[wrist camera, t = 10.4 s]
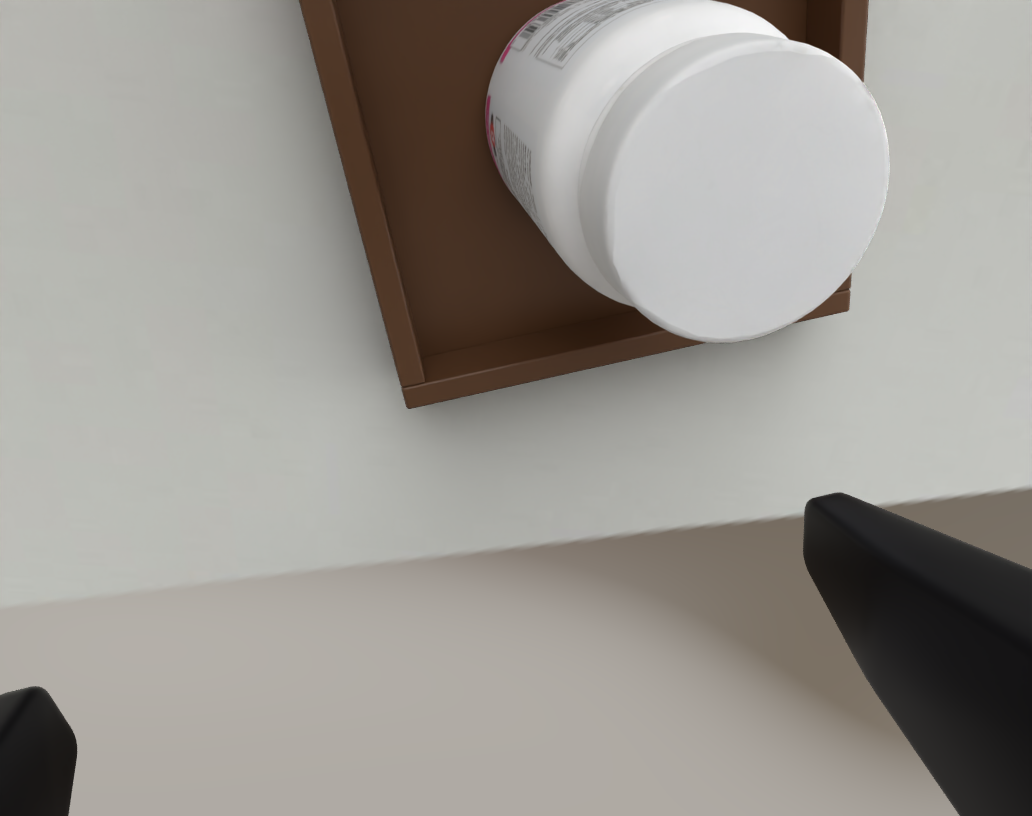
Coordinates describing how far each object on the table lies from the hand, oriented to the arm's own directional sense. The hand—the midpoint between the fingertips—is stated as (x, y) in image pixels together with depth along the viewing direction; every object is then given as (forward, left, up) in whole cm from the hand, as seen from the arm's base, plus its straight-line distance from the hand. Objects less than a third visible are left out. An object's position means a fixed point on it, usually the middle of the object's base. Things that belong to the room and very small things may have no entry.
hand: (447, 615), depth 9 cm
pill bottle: (+3, -5, -11) cm, 13 cm away
